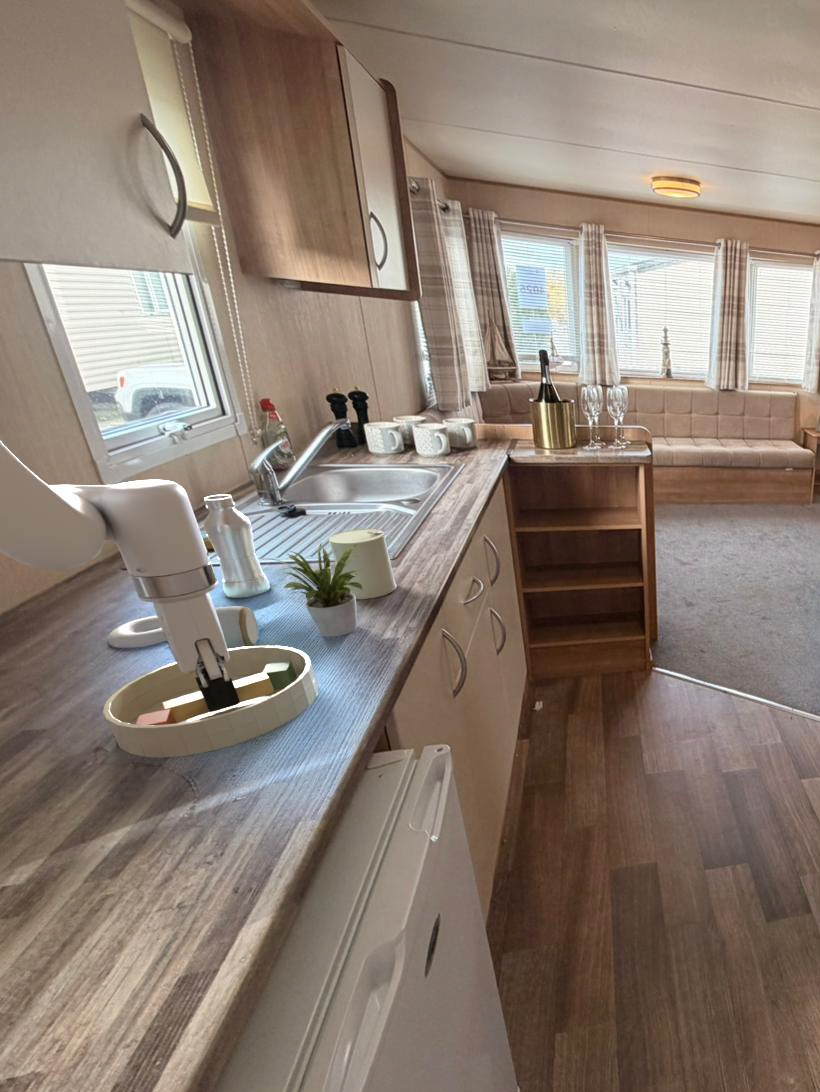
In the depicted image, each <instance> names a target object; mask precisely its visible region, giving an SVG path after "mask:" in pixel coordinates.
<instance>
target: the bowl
mask: <svg viewBox="0 0 820 1092" xmlns="http://www.w3.org/2000/svg"><path fill="white" fill-rule="evenodd" d="M228 652H229V656H230V660H229V661H228V662H227V663H225V662H224V665H225V668H226V671H227V673H228V676H229V678H231V679H232V682H233V681H236V680H239V679H243V678H246V677H249V676H253V675H256V674H259V673H262V672H263V670H264V668H265V666H266V665H267V664H271V663H278V662H285V661H292V664H293V667H294V670H295V673H296V677H297V678H296V680H295V681H294V682H293V683H291V684H290V685H289V686H287V687H286V688H285V689H279V690H274V692H273V693H270V694H267V695H263V696H260V697H257V698H254V699H251V700H248V701H245V702H241V703H239V704H238V705H235V706H232V707H229V708H225V709H222V710H219V711H216V712H210V713H207V714H204V715H201V716H197V717H194V718H191V719H188V720H185V721H182V722H178V723H177V724H166V725H136V722H137V720H138V717H139V715H143V714H148V713H153V712H158V711H163V710H165V709H164V707H163V704H162V702H165V701H169V700H172V699H175V698H179V697H182V696H185V695H189V694H192V693H196V692H199V691H200V689H199V686H198V684H197V681H196V679H195V677H199V676H197V675H196V673H195V670H194V671H190V672H189V673H188V674H186V673H183V672H181V670H180V669H179V667H178V665H177V663H176V661H175V662H172V663H169V664H167V665H164V666H160V667H158V668H156V669H154V670H152V671H149V672H147V673H145V674H142V675H140V676H139V677H137V678H135V679H133V680H131V681H130V682H128V683H126V684H124V685H123V686H122V687H120V688H119V689H117V690H116V691H115V692H114V693H113V694H111V696H110V697H109V698H108V699H107V700H106V702H104V705H103V710H102V715H103V716H104V717H105V721H106V722H107V724H108V727H109V729H110V731H111V734H112V735H113V737H114V739H115V741H116V743H117V745H118V747H119V749H121V750H122V751H124V752H126V753H127V754H130V755H134V756H137V757H143V758H153V759H154V758H157V759H158V758H159V759H162V758H178V757H187V756H194V755H199V754H205V753H209V752H214V751H218V750H222V749H225V748H229V747H233V746H235V745H238V744H242V743H245V742H249V741H250V740H253V739H256V738H258V737H260V736H264V735H265V734H268V733H270V732H272V731H274V730H276V729H278V728H280V727H282V726H284V725H286V724H288V723H289V722H291V721H292V720H294V719H295V718H297V717H298V716H300V715H301V714H302V713H304V712H305V711H306V710H307V709H308V708H309V707H310V706H311V705H312V704H313V703H314V701H316V698H317V697H318V695H319V690H320V687H319V684H318V681H317V677H316V674H315V669H314V668H313V664H312V661H311V657H310V655H308V654H306V652H304V651H302V650H300V649H297V648H295V647H289V646H284V645H254V646H248V647H239V648H232V649H228Z"/></svg>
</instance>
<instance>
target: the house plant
mask: <svg viewBox="0 0 820 1092" xmlns="http://www.w3.org/2000/svg"><path fill="white" fill-rule="evenodd" d="M322 543H323V542H321V543H320V544H319V546H318V550H317V558H318V559H317V560H318V567H319V569H316V570H315V571H314V570H313V569H312V567H311V565H310V564H309V562H308V561H307V560H306V559H305V558H304V556H302V555H301V554H300V553H297V552H295V551H291V550H290V551H289V552H290V553H293V554H295V555H296V556H295V555H293V554H290V553H287V556H288V557H289V558H290V559H291V560H293V561H294V562H295V563H296V565H298V566H299V567H298V566H291V565H290V564H288V563H287V562H285V561H283V560H279V559H276V558H269V560H271V561H275V562H276V561H277V562H279V563H282V564H284V565H286V566H288V567H285V568H281V569H280V571H283V570H286V569H288V568H289V569H292V570H294V571H295V572H296V573H298V574H299V575H297V574H296V573H292V572H286V574H287V575H291V576H293V577H294V578H296V579H298V580H299V581H300V582H302V583H300V582H297V581H296V582H295V581H291V582H288V583H286V584H285V585H284V586H283V589H288V588H289V590H288V592H289V591H294V592H291V593H290V595H292V594H295V593H297V591H295V590H304V591H300V593H301V594H304V595H305V598H306V602H305V607H306V609H307V611H308V613H309V614H310V616H311V618H312V620H313V622H314V624H315V626H316V628H317V630H318V632H319V633H320V636H323V637H327V638H330V637H331V638H332V637H339V636H344V635H345V636H346V635H348V634H350V633H353V632H354V631H356V630H357V628H358V614H357V613H358V612H357V599H356V596H355V595H354V594H353V593H350V588H348V587H347V585H350V586H354V587H357V588H359V589H361V590H362V586H361V584H359V583H357V582H350V583H349V581H350V580H351V579H352V578H354V577H356V576H355V575H358V574H350V573H353V572H356V571H360V570H356V571H351V572H347V573H344V574H341V572H342V570H343V568H344V567H345V565H346V564H347V563H348V562H349V561H350V560H349V561H348V562H347V563H346V564H345V562H346V561H347V559H348V558H349V556H350V553H351V551H352V550H353V549H354V548H355V547H356V546H357V545H358V544H356V545H354V546H352V547H350V548H349V549H348V550H347V551H346V552H345V553H344V554H343V556H342V557H341V559H340V560H339V562H338V563H337V565H336V564H335V567H334V568H333V567H332V566H331V561H330V560H331V559H330V557H331V556H332V555H333V553H334V552H335V551H336V550H335V551H334V552H331V553H330V554H328V551H327V550H326V549H325V548H324V547H322ZM321 549H322V554H321ZM337 549H338V548H337ZM321 555H322V556H321ZM297 556H298V557H299V558H300V559H299V558H298V557H297ZM356 557H358V556H356ZM354 558H355V557H354ZM352 559H353V558H352ZM261 560H268V558H264V557H263V558H261ZM322 560H323V565H324V566H322ZM344 564H345V565H344ZM331 569H332V570H333V569H334V572H333V575H332V573H331V572H332V571H331ZM283 574H285V572H282V573H279V574H278V576H279V575H283ZM340 574H341V575H340ZM301 576H302V577H303V578H305V579H306V580H307V581H308V582H310V584H309V583H308V582H307V581H306V580H305V579H303V578H302V577H301ZM331 576H332V577H331ZM311 584H312V585H313V586H314V587H315V588H313V586H312V585H311ZM290 588H291V589H290ZM305 591H306V592H305Z"/></svg>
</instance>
